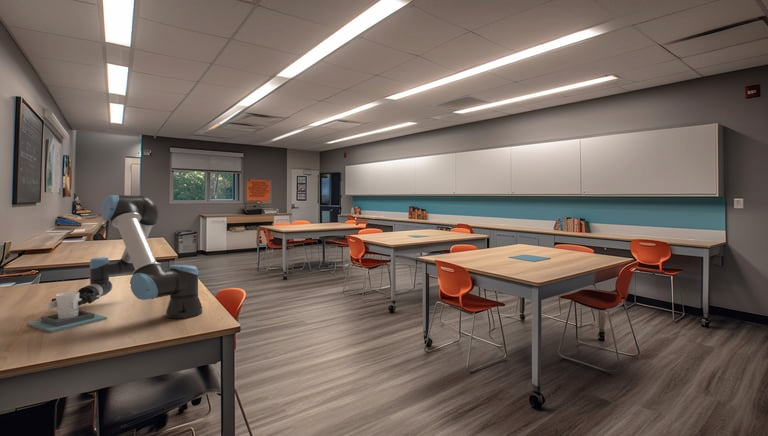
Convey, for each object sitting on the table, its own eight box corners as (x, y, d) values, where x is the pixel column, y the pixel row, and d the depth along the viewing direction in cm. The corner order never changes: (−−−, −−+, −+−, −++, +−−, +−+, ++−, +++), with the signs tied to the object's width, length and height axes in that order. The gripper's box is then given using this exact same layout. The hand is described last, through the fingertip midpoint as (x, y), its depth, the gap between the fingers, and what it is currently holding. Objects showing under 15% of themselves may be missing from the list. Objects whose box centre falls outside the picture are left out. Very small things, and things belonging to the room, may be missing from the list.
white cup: (81, 316, 162) (81, 293, 162) (57, 320, 156) (56, 296, 156) (78, 312, 167) (77, 290, 167) (54, 316, 162) (54, 293, 161)
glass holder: (106, 319, 166) (106, 312, 166) (51, 332, 148) (51, 325, 148) (82, 313, 175) (82, 306, 175) (27, 325, 157) (27, 318, 157)
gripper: (114, 300, 181) (89, 313, 159) (64, 302, 177) (32, 316, 154) (113, 284, 181) (89, 295, 159) (64, 286, 176) (31, 298, 154)
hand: (61, 305), depth 157 cm, fingers closed on white cup, 7 cm apart
